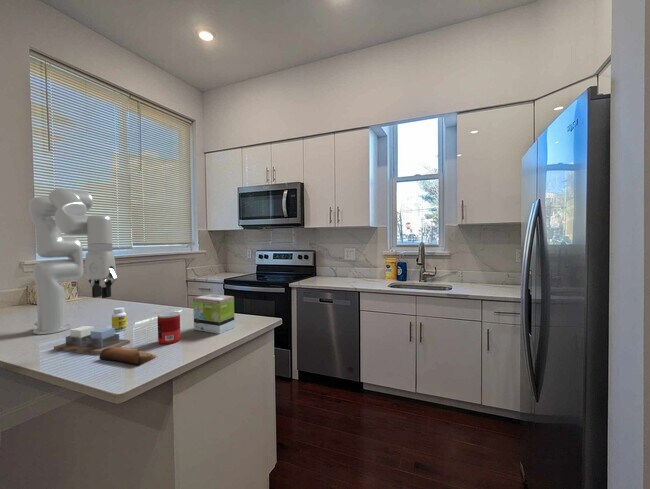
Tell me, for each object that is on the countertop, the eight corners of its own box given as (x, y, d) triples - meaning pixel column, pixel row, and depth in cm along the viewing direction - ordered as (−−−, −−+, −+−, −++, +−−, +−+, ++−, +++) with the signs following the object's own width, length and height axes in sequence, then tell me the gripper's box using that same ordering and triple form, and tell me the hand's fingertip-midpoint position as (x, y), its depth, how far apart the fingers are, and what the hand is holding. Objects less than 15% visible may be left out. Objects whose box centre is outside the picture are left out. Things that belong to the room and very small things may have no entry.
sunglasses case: (160, 356, 104) (151, 343, 101) (145, 374, 99) (135, 360, 95) (122, 350, 110) (112, 338, 107) (106, 367, 104) (95, 354, 101)
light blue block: (90, 340, 112) (90, 331, 112) (104, 336, 117) (104, 327, 117) (101, 341, 111) (101, 332, 111) (114, 337, 116) (114, 328, 116)
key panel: (54, 349, 112) (53, 338, 112) (86, 339, 124) (86, 329, 124) (100, 354, 107) (100, 342, 107) (130, 343, 118) (129, 332, 118)
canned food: (184, 339, 122) (184, 312, 122) (168, 345, 115) (168, 317, 114) (170, 337, 125) (169, 310, 124) (153, 343, 117) (152, 315, 117)
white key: (70, 338, 115) (70, 329, 114) (84, 334, 120) (84, 325, 119) (81, 339, 113) (80, 330, 113) (94, 335, 118) (94, 326, 118)
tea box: (193, 330, 133) (192, 297, 133) (209, 324, 143) (208, 293, 142) (220, 334, 128) (219, 299, 127) (235, 327, 137) (234, 295, 137)
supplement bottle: (119, 332, 133) (118, 310, 132) (109, 331, 134) (108, 309, 134) (129, 328, 138) (128, 307, 138) (119, 328, 139) (118, 306, 139)
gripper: (72, 249, 112) (74, 298, 112) (108, 248, 107) (110, 300, 108) (93, 248, 119) (94, 294, 119) (127, 248, 115) (128, 296, 115)
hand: (101, 296), depth 114 cm, fingers open, 3 cm apart
